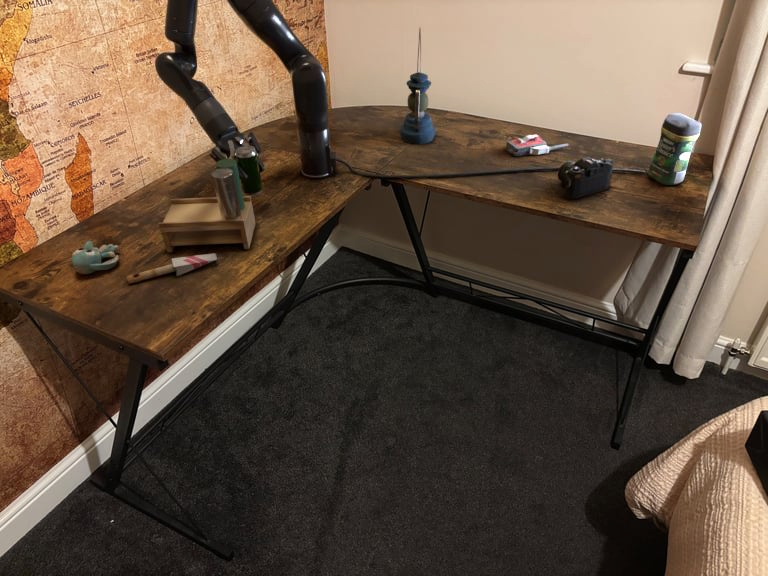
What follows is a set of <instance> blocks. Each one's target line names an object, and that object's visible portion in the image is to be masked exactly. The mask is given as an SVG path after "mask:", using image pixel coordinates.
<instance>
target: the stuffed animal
mask: <svg viewBox="0 0 768 576" xmlns="http://www.w3.org/2000/svg"><path fill="white" fill-rule="evenodd" d="M119 251H120V247H119V245H116V244H115V245H114V244H113V243H110V244H107V245H106V244H103V245H101V246H100V247H99V248H98V247H95V246H94V244H93V241H91V240H88V241H86V243H85V244H84V245H83V246H82V247H80V248H77V249H76V250H75V251H74V252H72V253H71V265H72V267H73V268H74V270H75V271H76V272H77V273H79V274H81V275H89V274H93V273H94V272H96V271H108V270H110V269H113V268H114V267H115V266H116V265H117V264H118V261H119V257H120V256H119V255H118V254H116V253H117V252H119ZM105 258H106V259H107V258H109V259H108V260H106V261H104V262H102V259H105Z"/></svg>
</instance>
